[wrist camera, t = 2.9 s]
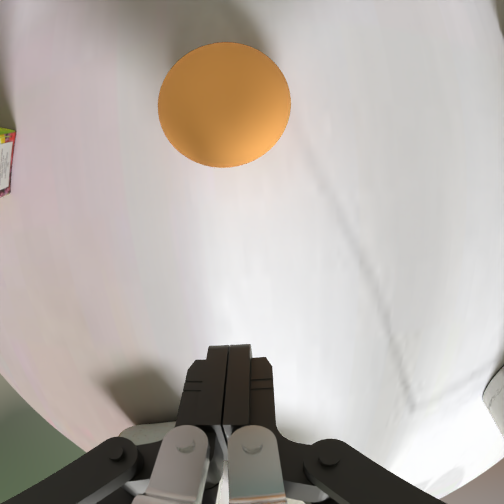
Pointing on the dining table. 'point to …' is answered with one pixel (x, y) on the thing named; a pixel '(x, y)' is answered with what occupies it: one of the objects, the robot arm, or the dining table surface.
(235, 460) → the robot arm
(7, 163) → the snack box
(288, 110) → the ball
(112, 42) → the dining table surface
